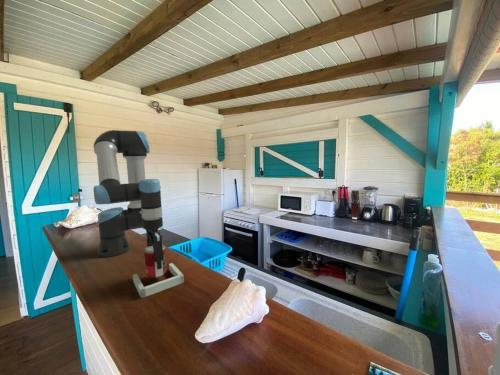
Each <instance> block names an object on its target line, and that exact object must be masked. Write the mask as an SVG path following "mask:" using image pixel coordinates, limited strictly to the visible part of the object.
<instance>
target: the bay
mask: <svg viewBox="0 0 500 375" xmlns="http://www.w3.org/2000/svg"><path fill="white" fill-rule="evenodd" d="M168 266H169V267H168V271H170V273H171V274H172V275H173V276H172V277H170V278H167V279H164V280H161V281H158V282H155V283H152V284H150V285H146V286H144V284H143V283H142V281H141V279H140V277H139V276H138V274H137V273H134V274H132V281H133V285H134V286H135V288H136V290H137V292H138V294H139V297H140V299H143V298H146V297H149V296H151V295H154V294H157V293H160V292H162V291H165V290H168V289H170V288H173V287H175V286H179V285H181V284H184V283H185V275H184V274H183V272H181V271H180V270H179V268H178V267H177V266H176V265H175V264H174V263H173V262H171V263H168Z"/></svg>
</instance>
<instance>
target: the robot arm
mask: <svg viewBox="0 0 500 375" xmlns="http://www.w3.org/2000/svg"><path fill="white" fill-rule="evenodd" d="M93 151H94V152H93V153H94V154H95V156H96V160H97V163H96V164H97V173H98V185H94V187H93V188H92V190H93V198H94V203H95V204H96V205H110V204H111V205H112V204H119V203H127V202H128V204H127V205H126V206H127V207H126V209H124V208H123V207H122V206H120V207H119V206H118V207H113V208H112V207H111V208H108V209H104V210H102V211H100V212H99V213H97V214H98V215H97V223H98V231H99V242H98V246H97V256H98V257H101V258H109V257H115V256H119V255H123V254H125V253H126V252H128V251H129V250H131V244H130V241H129V240H128V238H127V236H126V231H131V230H137V229H143V230H145V233H146V247H148V246H153V250H154V256H155V261H153V262H155V274H156V278H160V277H162V276H164V275H163V264H162V260H164V255H163V247H162V245H163V241H162V240H163V239H162V238H163V236H162V235H161V232H160V229H161V228H162V227H163V226H164V221H163V207H162V196H161V195H162V194H161V189H162V188H161V187H162V186H161V183H160V180H159V179H157V178H146V169H145V168H146V167H145V159H146V158H148V156H147V155H148V154H150V142H149V139H148V136H147V134H146V133H145V132H143V131H139V130H116V129H112V130H106V131H105V132H103V133H101V134H99V135H98V137H96V139H95V141H94V143H93ZM117 154H122V157H123V159H125V161H126V169H127V170H126V171H127V172H126V173H127V182H128V183H121V179H120V178H121V177H120V173H119V166H118V165H119V164H118V159H117ZM159 276H160V277H159Z"/></svg>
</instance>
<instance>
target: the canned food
mask: <svg viewBox="0 0 500 375" xmlns="http://www.w3.org/2000/svg"><path fill="white" fill-rule="evenodd" d="M162 247H163V255H164V260H162V264H163V275H162V276H164V275H165V274H166V272H167V258H166V246H165V245H164V244H162ZM143 251H144V252H143V253H144V255H143V256H144V264H145V265H144V267H145V275H146V277H147V278H153V279H154V278H157V277H156V274H155V262H153V261H155V256H154V250H153V246H148V247H147V246H146V247H145V248H144V249H143ZM160 277H161V276H159V277H158V278H160Z"/></svg>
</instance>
